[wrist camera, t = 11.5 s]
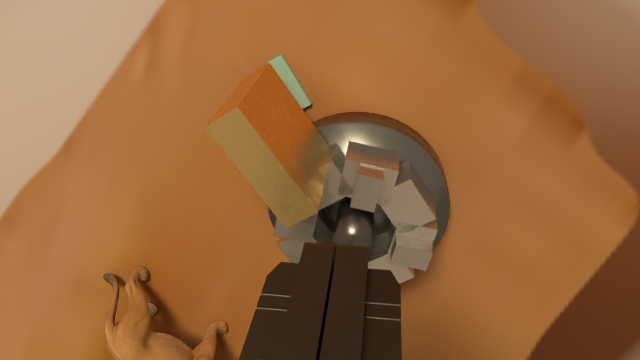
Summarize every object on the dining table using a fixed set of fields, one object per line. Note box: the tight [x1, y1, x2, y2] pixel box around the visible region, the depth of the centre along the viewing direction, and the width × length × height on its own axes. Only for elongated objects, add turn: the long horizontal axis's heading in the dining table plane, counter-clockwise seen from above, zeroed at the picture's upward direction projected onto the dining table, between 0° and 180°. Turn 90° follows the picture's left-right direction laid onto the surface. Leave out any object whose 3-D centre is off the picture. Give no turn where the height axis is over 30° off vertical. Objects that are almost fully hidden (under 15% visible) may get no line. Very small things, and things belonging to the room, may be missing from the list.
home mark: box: [268, 54, 312, 109], centre depth 32 cm, size 4×1×1 cm, turn 31°
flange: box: [268, 112, 450, 253], centre depth 33 cm, size 12×12×6 cm
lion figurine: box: [103, 267, 227, 360], centre depth 40 cm, size 15×5×9 cm, turn 58°
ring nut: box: [205, 63, 438, 284], centre depth 30 cm, size 16×10×7 cm, turn 34°
